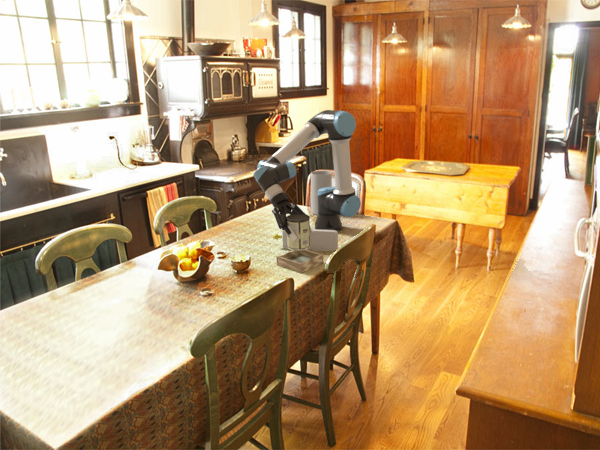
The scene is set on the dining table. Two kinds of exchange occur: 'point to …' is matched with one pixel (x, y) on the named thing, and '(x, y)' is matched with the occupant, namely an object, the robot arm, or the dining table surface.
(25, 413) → the dining table surface
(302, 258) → the square tray
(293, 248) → the coffee can
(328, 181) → the cylinder vase
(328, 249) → the decorative sign
